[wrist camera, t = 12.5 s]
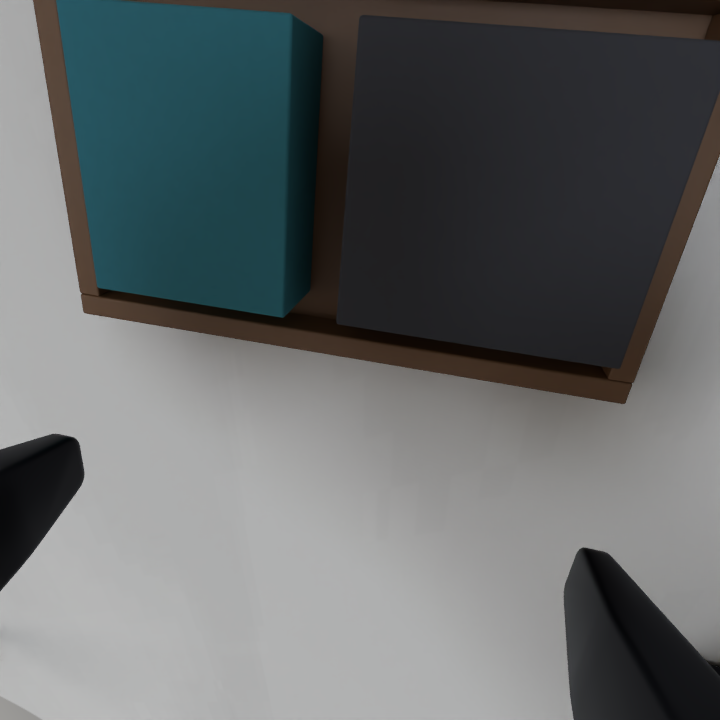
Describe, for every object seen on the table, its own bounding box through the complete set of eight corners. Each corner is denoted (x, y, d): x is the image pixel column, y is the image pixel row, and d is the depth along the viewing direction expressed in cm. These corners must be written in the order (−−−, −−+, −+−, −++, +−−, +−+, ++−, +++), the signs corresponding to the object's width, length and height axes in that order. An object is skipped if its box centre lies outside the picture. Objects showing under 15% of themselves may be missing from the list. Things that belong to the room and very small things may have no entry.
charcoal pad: (596, 332, 17) (620, 370, 14) (355, 296, 18) (335, 324, 15) (685, 59, 13) (739, 41, 11) (378, 35, 14) (358, 13, 12)
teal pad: (310, 291, 18) (283, 318, 16) (148, 266, 19) (96, 288, 16) (324, 34, 15) (292, 12, 12) (124, 18, 16) (54, -6, 13)
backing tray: (609, 378, 18) (625, 405, 16) (116, 298, 21) (82, 313, 19) (748, -16, 13) (794, -39, 11) (70, -55, 15) (19, -79, 14)
